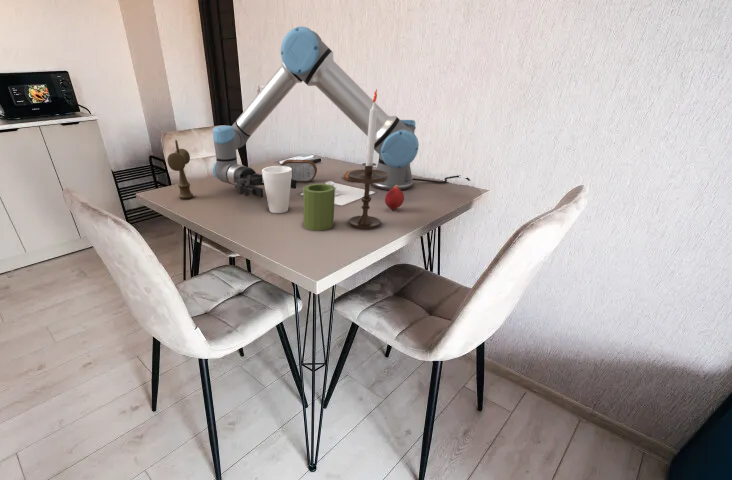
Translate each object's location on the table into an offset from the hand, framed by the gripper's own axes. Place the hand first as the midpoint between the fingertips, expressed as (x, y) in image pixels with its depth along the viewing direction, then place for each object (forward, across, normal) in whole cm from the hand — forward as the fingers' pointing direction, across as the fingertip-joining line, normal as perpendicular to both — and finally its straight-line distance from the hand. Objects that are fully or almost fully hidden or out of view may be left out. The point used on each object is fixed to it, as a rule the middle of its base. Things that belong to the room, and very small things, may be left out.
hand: (279, 188), depth 119 cm
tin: (-23, -27, -7) cm, 36 cm away
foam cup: (-1, 0, -7) cm, 7 cm away
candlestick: (+27, -10, -7) cm, 30 cm away
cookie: (-9, -47, -7) cm, 48 cm away
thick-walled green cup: (+18, 0, -7) cm, 20 cm away
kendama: (-36, +16, -7) cm, 40 cm away
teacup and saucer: (0, -27, -7) cm, 28 cm away
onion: (+26, -26, -7) cm, 37 cm away
